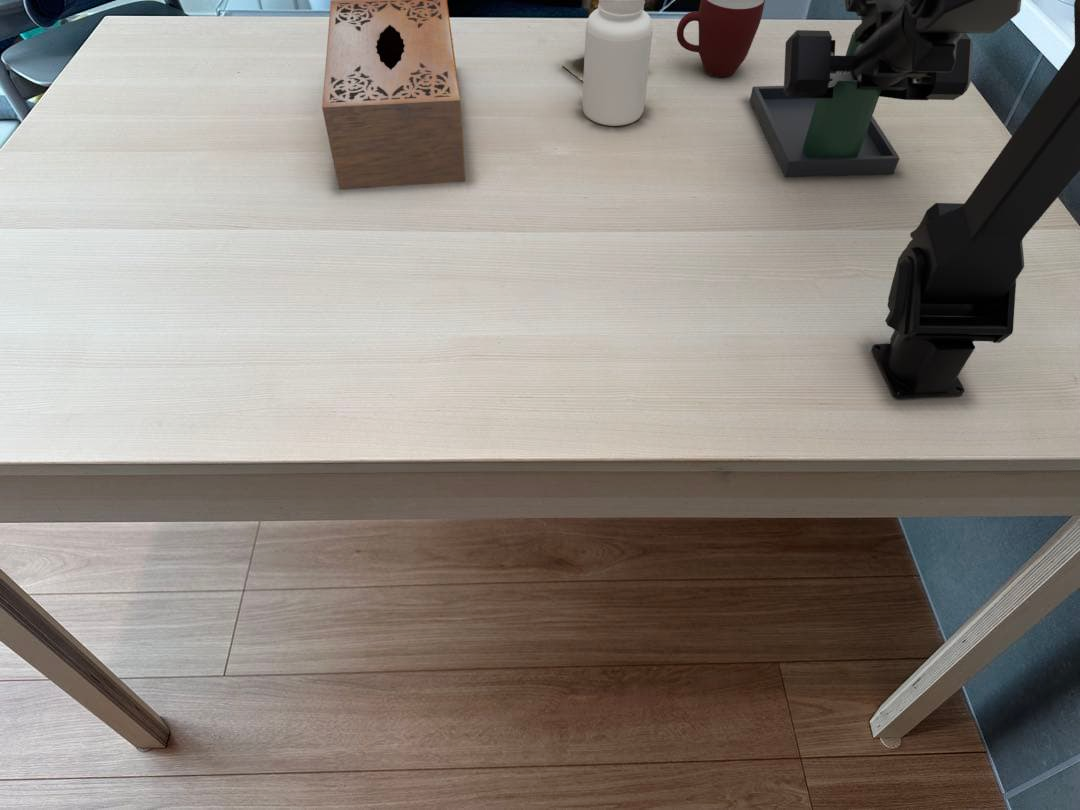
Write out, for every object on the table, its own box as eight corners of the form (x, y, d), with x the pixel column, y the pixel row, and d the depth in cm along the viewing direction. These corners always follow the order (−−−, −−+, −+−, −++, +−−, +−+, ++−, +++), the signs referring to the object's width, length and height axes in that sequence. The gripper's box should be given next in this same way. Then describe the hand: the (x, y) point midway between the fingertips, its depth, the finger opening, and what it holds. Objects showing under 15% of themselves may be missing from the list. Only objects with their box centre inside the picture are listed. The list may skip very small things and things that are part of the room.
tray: (893, 173, 94) (900, 158, 93) (784, 177, 93) (789, 161, 92) (847, 98, 105) (852, 83, 104) (749, 101, 104) (752, 86, 103)
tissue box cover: (344, 77, 107) (330, 0, 99) (451, 71, 108) (446, -5, 101) (339, 189, 91) (322, 107, 83) (465, 181, 92) (460, 100, 84)
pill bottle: (605, 89, 106) (615, -31, 94) (655, 109, 103) (671, -12, 91) (568, 112, 102) (574, -9, 90) (619, 135, 99) (631, 11, 87)
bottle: (809, 166, 94) (845, 48, 83) (798, 136, 98) (831, 21, 87) (863, 167, 94) (906, 49, 83) (850, 137, 98) (889, 22, 87)
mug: (674, 84, 107) (686, 8, 99) (669, 55, 112) (680, -19, 105) (753, 86, 107) (770, 10, 99) (744, 57, 112) (760, -18, 105)
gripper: (1012, -47, 75) (930, 19, 91) (815, -51, 75) (767, 16, 91) (1004, 74, 76) (925, 119, 92) (810, 70, 76) (763, 116, 92)
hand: (845, 90), depth 91 cm, fingers closed on bottle, 6 cm apart
